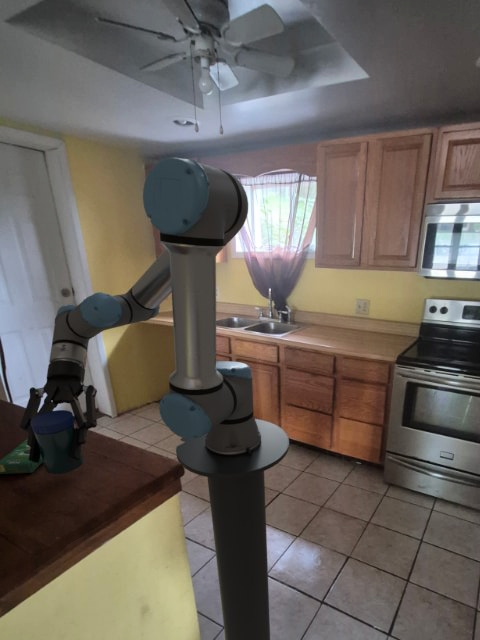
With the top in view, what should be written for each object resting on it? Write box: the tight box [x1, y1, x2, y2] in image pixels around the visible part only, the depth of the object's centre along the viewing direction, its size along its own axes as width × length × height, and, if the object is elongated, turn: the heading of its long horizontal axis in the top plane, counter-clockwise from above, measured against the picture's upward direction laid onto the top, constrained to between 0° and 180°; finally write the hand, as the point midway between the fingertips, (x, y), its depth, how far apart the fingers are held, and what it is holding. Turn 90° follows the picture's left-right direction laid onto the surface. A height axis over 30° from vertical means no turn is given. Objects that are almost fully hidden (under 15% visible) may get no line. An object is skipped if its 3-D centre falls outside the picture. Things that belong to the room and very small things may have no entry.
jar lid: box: [30, 409, 76, 434], centre depth 81 cm, size 8×8×2 cm
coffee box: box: [0, 438, 43, 475], centre depth 93 cm, size 8×3×13 cm
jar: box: [34, 423, 85, 475], centre depth 83 cm, size 8×8×12 cm
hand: (54, 459), depth 81 cm, fingers closed on jar, 8 cm apart
